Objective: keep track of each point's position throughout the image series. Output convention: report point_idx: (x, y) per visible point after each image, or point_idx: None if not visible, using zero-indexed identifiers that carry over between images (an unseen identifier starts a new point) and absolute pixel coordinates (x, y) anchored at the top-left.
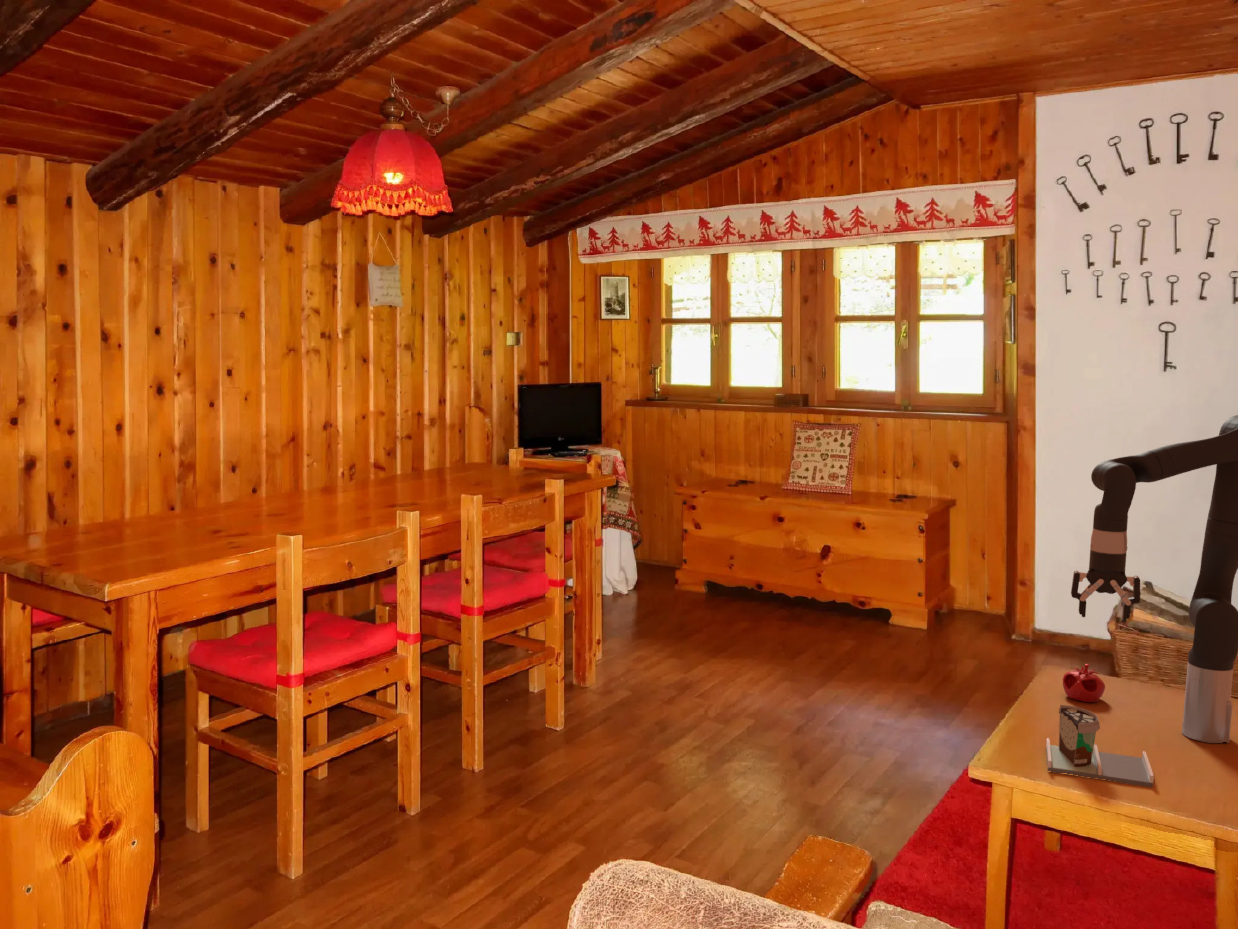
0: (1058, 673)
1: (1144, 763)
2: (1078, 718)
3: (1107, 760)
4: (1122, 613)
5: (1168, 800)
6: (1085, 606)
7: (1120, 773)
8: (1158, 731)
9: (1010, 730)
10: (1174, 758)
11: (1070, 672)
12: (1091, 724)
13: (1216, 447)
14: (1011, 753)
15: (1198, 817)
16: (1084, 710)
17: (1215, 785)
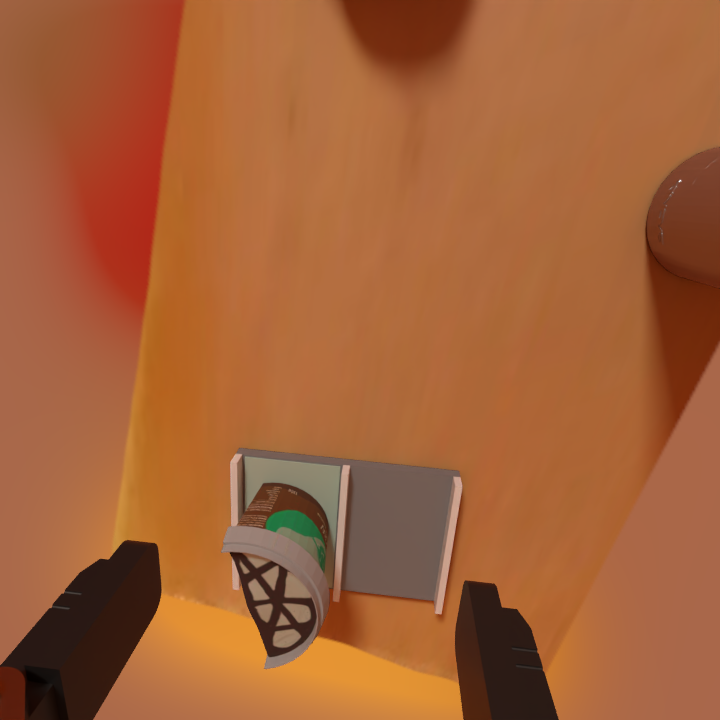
0: None
1: (447, 521)
2: (270, 610)
3: (367, 512)
4: (472, 624)
5: (453, 637)
6: (99, 698)
7: (382, 573)
8: (574, 212)
9: (153, 346)
10: (544, 423)
11: None
12: (299, 651)
13: None
14: (166, 494)
15: None
16: (289, 568)
17: (581, 553)
